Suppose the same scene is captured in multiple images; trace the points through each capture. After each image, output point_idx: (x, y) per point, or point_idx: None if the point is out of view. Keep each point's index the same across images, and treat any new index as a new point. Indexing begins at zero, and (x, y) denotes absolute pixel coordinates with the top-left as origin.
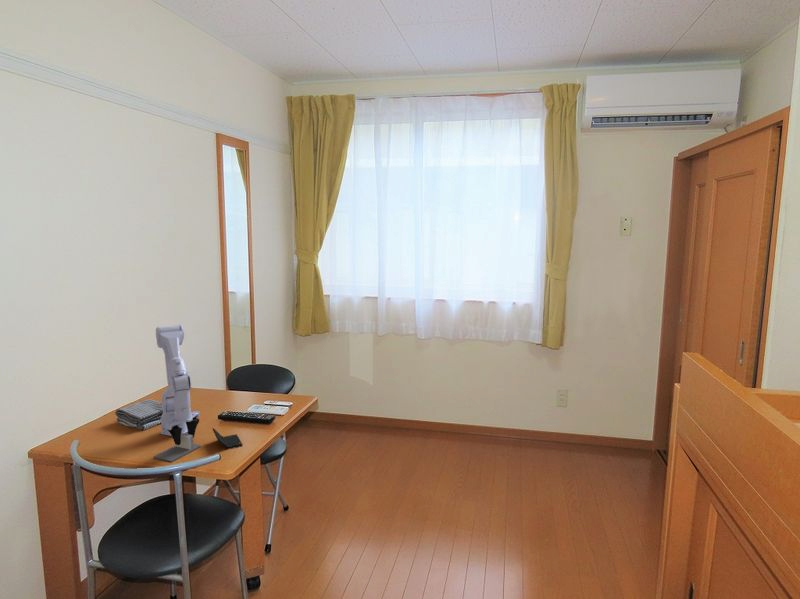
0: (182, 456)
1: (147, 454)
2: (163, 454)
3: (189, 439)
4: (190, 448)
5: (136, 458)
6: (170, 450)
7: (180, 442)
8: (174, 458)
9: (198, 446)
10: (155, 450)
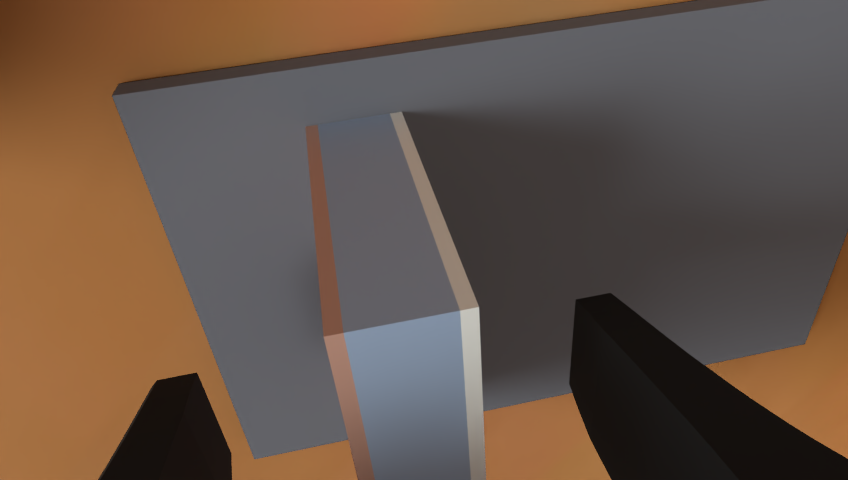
0: (665, 5)
1: None
2: (723, 302)
3: (456, 258)
4: (402, 120)
5: (826, 435)
6: None
7: (602, 322)
8: (836, 25)
9: (188, 98)
10: (603, 469)
